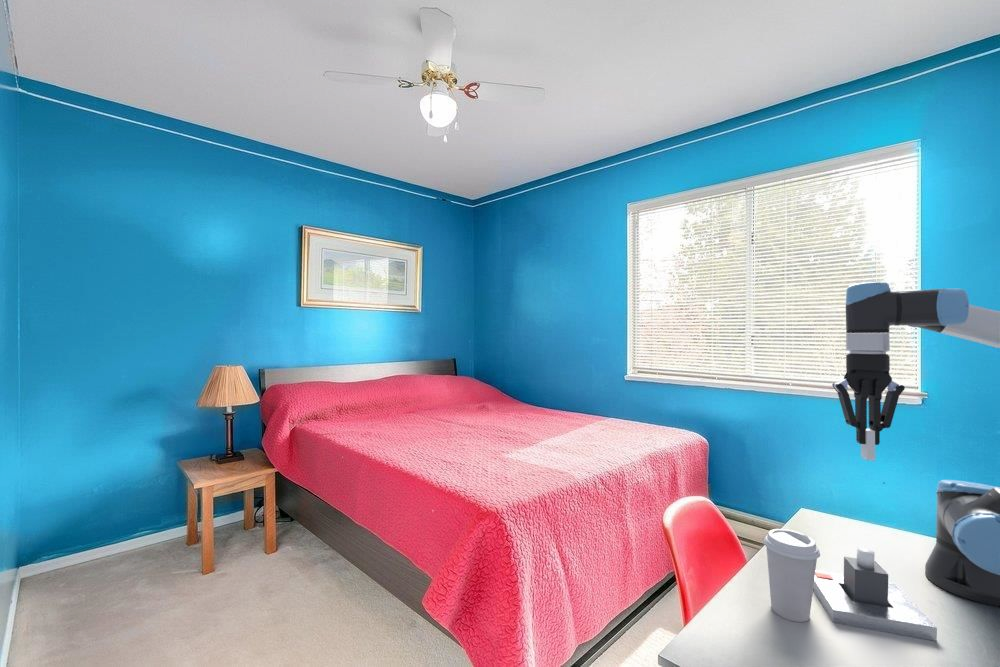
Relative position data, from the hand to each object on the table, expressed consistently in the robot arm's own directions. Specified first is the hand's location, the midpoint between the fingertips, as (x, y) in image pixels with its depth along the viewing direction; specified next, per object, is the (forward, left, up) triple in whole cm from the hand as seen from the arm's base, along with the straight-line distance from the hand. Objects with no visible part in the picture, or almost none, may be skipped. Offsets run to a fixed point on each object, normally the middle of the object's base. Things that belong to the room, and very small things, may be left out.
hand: (867, 458), depth 101 cm
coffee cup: (+19, +17, -29) cm, 38 cm away
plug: (+4, +10, -28) cm, 30 cm away
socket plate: (+4, +10, -28) cm, 30 cm away
